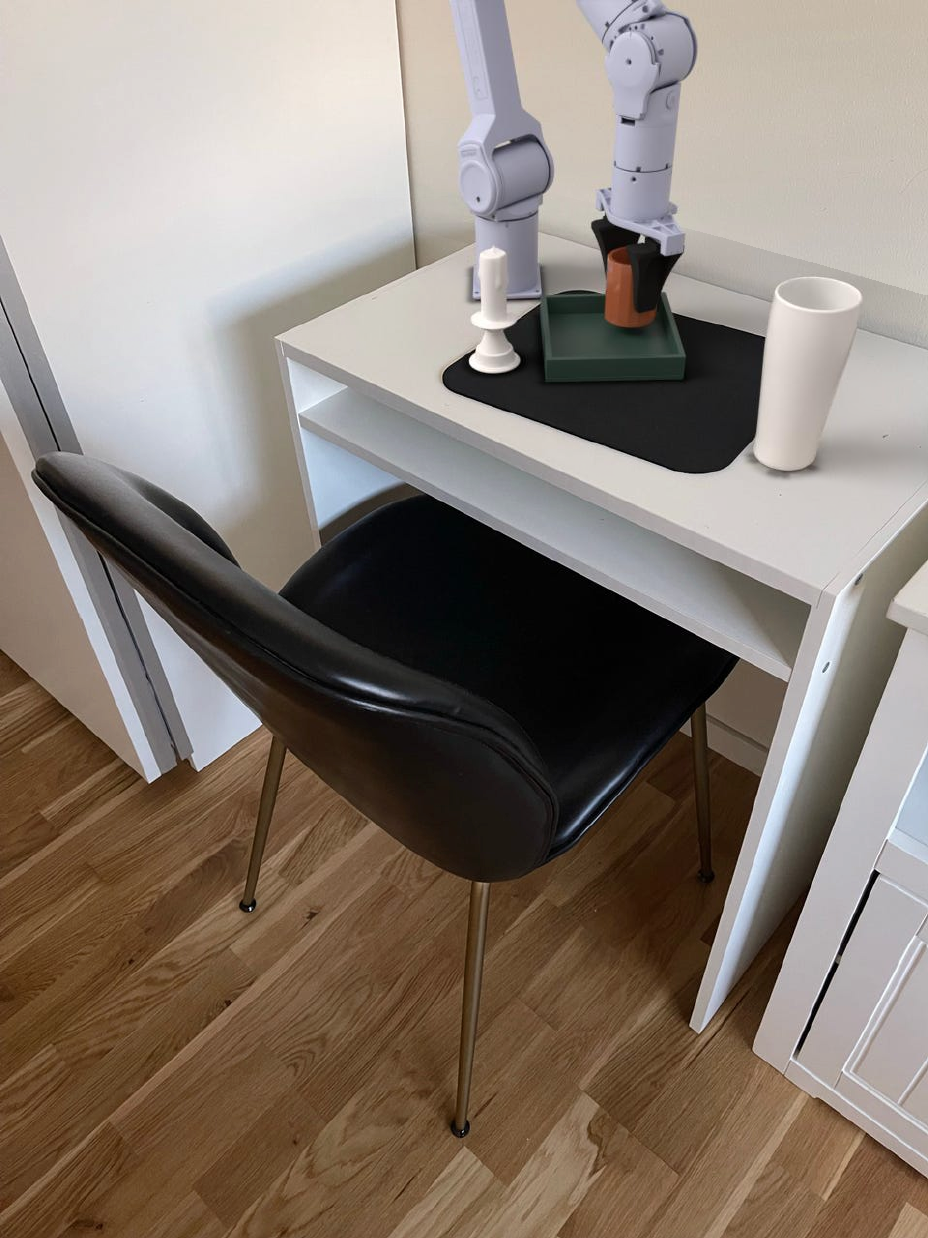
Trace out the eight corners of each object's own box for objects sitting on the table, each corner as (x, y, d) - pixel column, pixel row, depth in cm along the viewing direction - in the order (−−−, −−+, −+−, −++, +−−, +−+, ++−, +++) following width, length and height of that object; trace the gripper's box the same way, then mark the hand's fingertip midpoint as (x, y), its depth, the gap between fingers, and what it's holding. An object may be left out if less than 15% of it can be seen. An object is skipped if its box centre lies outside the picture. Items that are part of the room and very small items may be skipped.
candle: (474, 348, 102) (471, 235, 94) (524, 351, 101) (524, 237, 93) (464, 372, 99) (460, 256, 90) (515, 375, 98) (516, 258, 90)
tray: (540, 316, 108) (540, 294, 106) (663, 313, 107) (665, 291, 105) (545, 382, 96) (546, 359, 95) (683, 379, 96) (686, 356, 94)
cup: (602, 306, 105) (606, 246, 100) (652, 304, 105) (658, 244, 100) (606, 328, 101) (610, 267, 96) (658, 326, 101) (664, 265, 96)
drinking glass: (737, 437, 88) (766, 276, 78) (812, 436, 87) (851, 274, 77) (751, 479, 83) (784, 312, 73) (831, 478, 82) (875, 310, 72)
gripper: (720, 178, 88) (701, 319, 97) (642, 136, 98) (631, 267, 107) (652, 190, 86) (639, 332, 96) (580, 147, 97) (574, 279, 106)
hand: (631, 299), depth 101 cm, fingers closed on cup, 5 cm apart
